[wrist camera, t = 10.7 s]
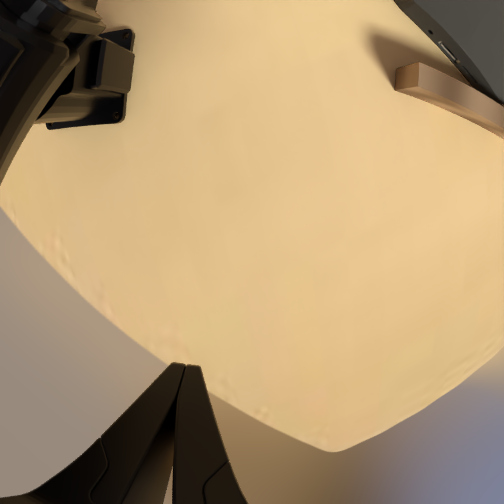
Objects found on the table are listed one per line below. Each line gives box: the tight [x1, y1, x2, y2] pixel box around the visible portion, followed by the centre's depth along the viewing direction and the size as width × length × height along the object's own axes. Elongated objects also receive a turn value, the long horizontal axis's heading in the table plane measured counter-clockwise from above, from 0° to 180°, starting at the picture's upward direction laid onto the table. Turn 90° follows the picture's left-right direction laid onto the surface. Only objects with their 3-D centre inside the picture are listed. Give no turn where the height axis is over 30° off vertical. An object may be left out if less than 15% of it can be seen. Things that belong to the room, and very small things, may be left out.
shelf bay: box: [395, 62, 504, 139], centre depth 9 cm, size 18×21×3 cm
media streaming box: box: [394, 0, 504, 104], centre depth 10 cm, size 15×15×3 cm
